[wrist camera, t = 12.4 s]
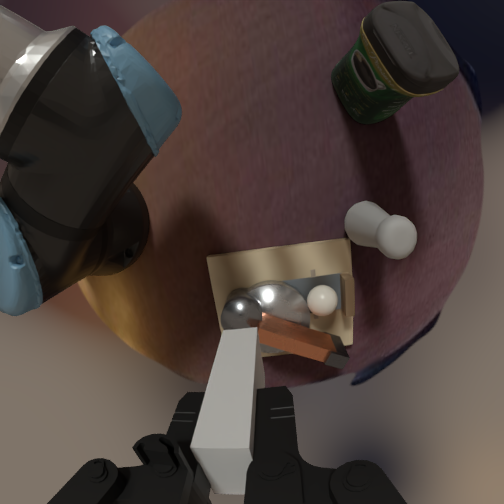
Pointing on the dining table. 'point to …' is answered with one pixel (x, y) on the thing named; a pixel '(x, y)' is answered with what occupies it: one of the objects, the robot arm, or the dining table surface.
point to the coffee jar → (393, 62)
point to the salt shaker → (380, 230)
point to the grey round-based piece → (281, 322)
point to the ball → (322, 300)
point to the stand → (292, 278)
